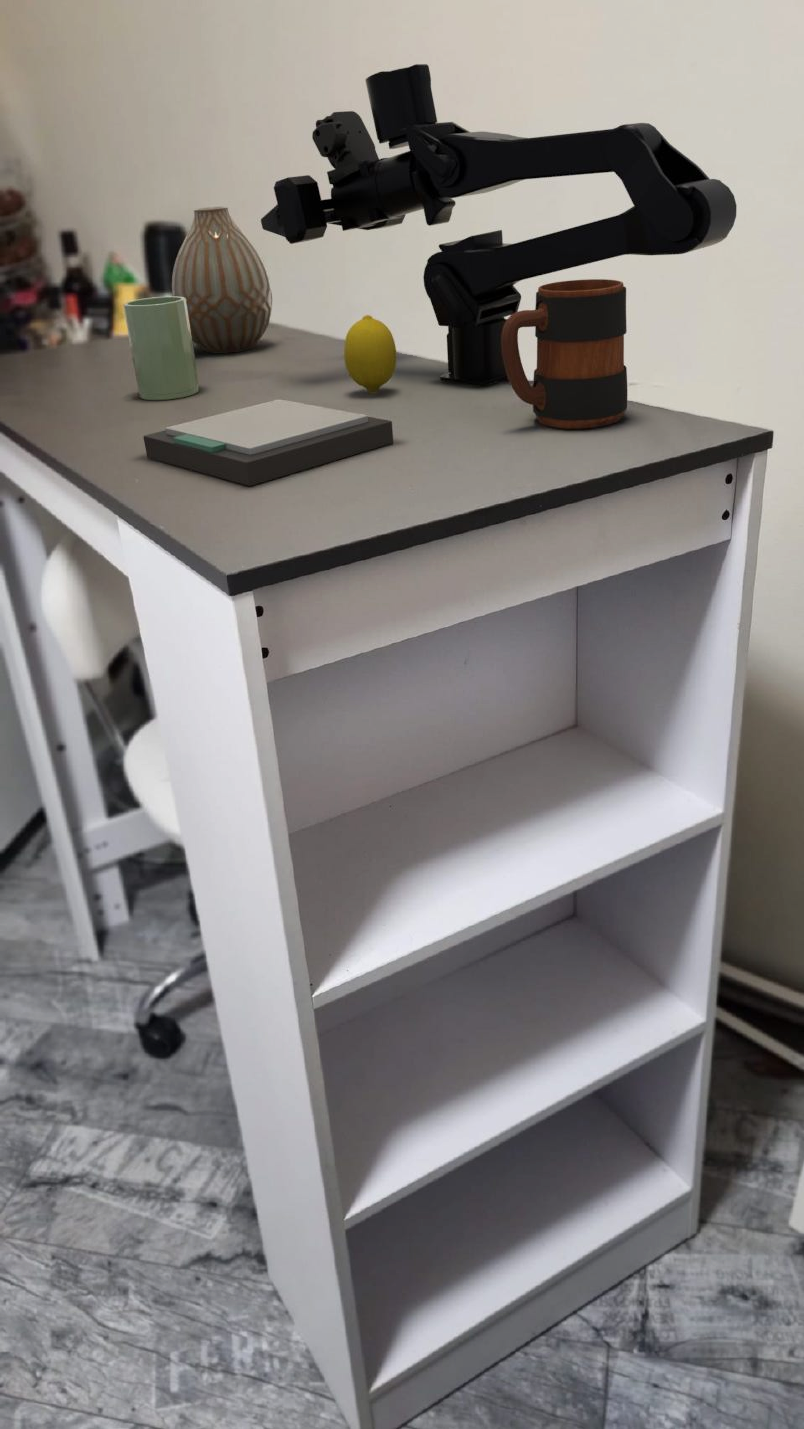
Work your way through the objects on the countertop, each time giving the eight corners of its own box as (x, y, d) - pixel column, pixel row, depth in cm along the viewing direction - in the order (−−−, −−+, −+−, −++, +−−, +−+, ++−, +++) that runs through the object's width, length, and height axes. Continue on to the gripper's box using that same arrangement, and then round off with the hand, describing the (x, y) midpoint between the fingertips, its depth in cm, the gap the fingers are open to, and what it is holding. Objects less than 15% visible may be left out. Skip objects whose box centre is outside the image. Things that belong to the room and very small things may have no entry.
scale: (393, 443, 99) (391, 414, 97) (249, 486, 89) (245, 455, 88) (285, 420, 109) (282, 394, 108) (146, 457, 100) (141, 429, 99)
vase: (272, 336, 156) (256, 201, 148) (283, 351, 145) (266, 206, 136) (179, 346, 154) (158, 209, 146) (183, 362, 143) (160, 215, 134)
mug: (484, 421, 103) (480, 290, 98) (597, 403, 107) (599, 275, 101) (524, 441, 96) (522, 300, 91) (644, 421, 99) (649, 284, 94)
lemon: (405, 387, 119) (400, 310, 116) (388, 399, 115) (382, 319, 111) (358, 387, 121) (352, 311, 117) (339, 398, 117) (332, 320, 113)
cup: (210, 391, 125) (196, 298, 120) (160, 402, 121) (144, 307, 116) (178, 384, 129) (164, 295, 125) (128, 396, 125) (112, 303, 121)
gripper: (427, 102, 121) (325, 140, 131) (317, 107, 108) (212, 149, 118) (448, 210, 125) (346, 239, 135) (344, 227, 112) (240, 258, 122)
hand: (289, 220), depth 127 cm, fingers open, 9 cm apart
